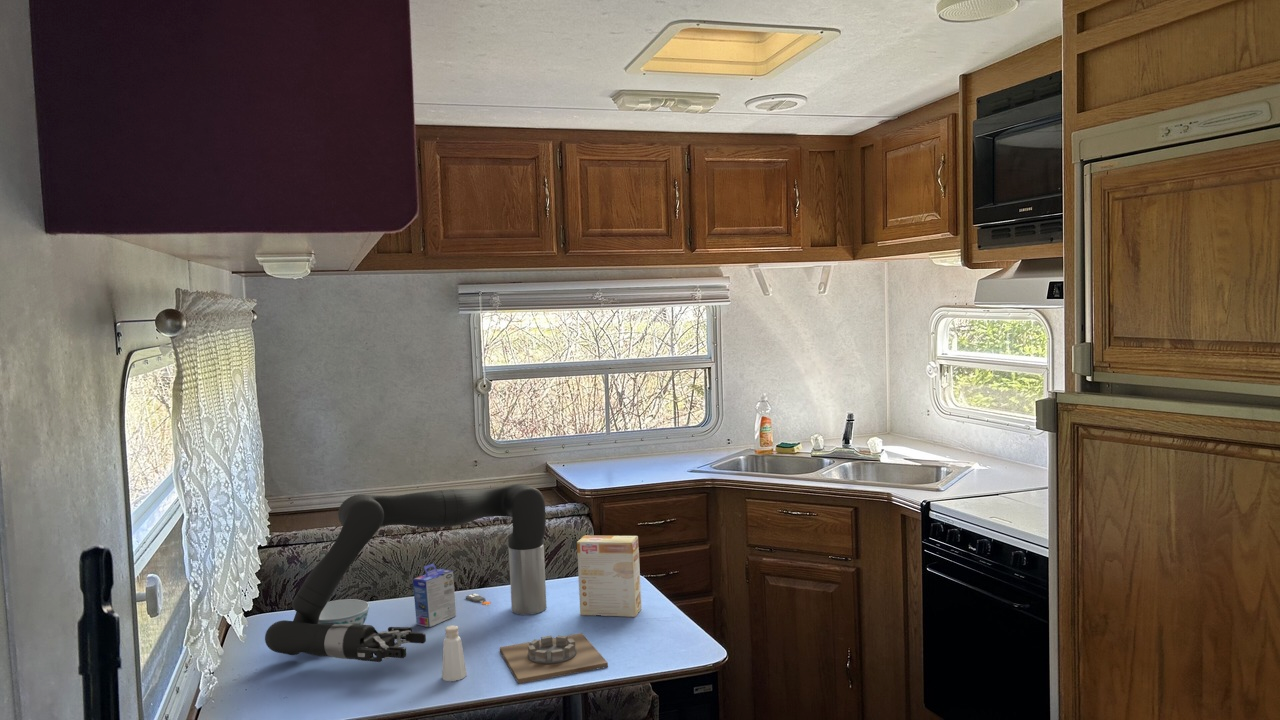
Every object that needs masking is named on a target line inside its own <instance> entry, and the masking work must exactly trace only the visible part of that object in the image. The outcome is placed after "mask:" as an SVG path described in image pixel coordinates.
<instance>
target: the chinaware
mask: <svg viewBox="0 0 1280 720" xmlns="http://www.w3.org/2000/svg"><path fill="white" fill-rule="evenodd" d="M369 610H370V604H369V603H368V602H367V601H366V600H362V599H356V598H355V599H353V598H351V599H348V598H347V599H346V598H345V599H336V600H331V601H330V600H329V601H328V602H327V604H326V605H325V607H324V609H323V610H322V612H321V614H320V617H319V621H318V624H359V625H365V622H366V621H367V617H368V614H369Z"/></svg>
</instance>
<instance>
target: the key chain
mask: <svg viewBox="0 0 1280 720" xmlns="http://www.w3.org/2000/svg"><path fill="white" fill-rule="evenodd" d="M465 599H466V600H467V601H470V602H473V603H481V605H482V606H485V605H486V606H487V605H490V604H491V602H490V601H486V598H485V597H483V596H481V595H479V594H477V593H472V594H467V595H466V596H465Z"/></svg>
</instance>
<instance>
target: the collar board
mask: <svg viewBox="0 0 1280 720" xmlns="http://www.w3.org/2000/svg"><path fill="white" fill-rule="evenodd" d="M499 652H500V654H501V656H502V657H503V660H504V661H505V662H506V665H507V667H508V668H509V670H510V669H511V670H510V671H512V672H511V673H512V675H513V676H515V677H514V678H516V679H515V680H516V682H517V683H518V684H519V683H520V684H525V683H531V682H536V681H541V680H545V679H552V678H556V677H563V676H567V675H573V674H577V673H578V672H579V673H582V672H583V671H584V672H589V671H594V670H593V669H595V670H598V669H597V668H600V669H604V668H603V667H606V668H608V667H609V662H608V661H607V660H606V659H605V658H604V656H602V654H601V653H600V652H599V651H598V649H597V648H595V646H594V645H593V644H592V643H591V642H590V641H589V640H588V638H587V636H586V635H585V634H583V632H581V633H575V634H570V635H568V634H567V635H559V634H558V635H557V636H556V637H553V636H552V635H545V636H541V637H540V640H539V639H535V638H534V639H533V640H531V641H529V642H523V643H517V644H516V643H515V644H510V645H505V646H500V647H499ZM588 670H589V671H588ZM584 672H583V673H584ZM562 675H563V676H562Z"/></svg>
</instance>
